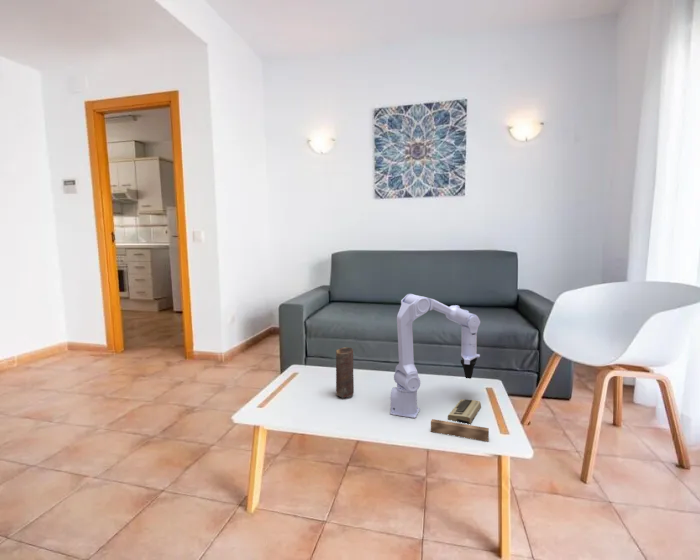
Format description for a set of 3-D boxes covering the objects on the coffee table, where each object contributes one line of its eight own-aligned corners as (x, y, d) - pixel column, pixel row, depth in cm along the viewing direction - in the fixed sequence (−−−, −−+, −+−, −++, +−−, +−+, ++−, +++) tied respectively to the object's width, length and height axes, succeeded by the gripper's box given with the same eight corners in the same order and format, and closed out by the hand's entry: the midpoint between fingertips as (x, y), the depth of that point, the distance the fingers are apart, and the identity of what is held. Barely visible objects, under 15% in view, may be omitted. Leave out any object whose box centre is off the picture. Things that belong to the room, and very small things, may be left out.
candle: (357, 396, 155) (356, 349, 153) (343, 401, 151) (342, 352, 149) (346, 391, 161) (345, 345, 159) (332, 395, 157) (331, 348, 155)
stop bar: (430, 431, 125) (430, 421, 124) (432, 428, 127) (431, 419, 126) (488, 441, 118) (488, 431, 117) (488, 438, 119) (488, 428, 119)
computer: (459, 404, 146) (459, 396, 146) (481, 408, 142) (481, 400, 142) (447, 420, 133) (447, 411, 133) (470, 426, 129) (470, 417, 128)
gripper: (478, 348, 139) (477, 384, 140) (481, 339, 152) (480, 371, 153) (458, 347, 142) (458, 382, 143) (463, 338, 155) (463, 370, 156)
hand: (468, 376), depth 148 cm, fingers open, 3 cm apart
